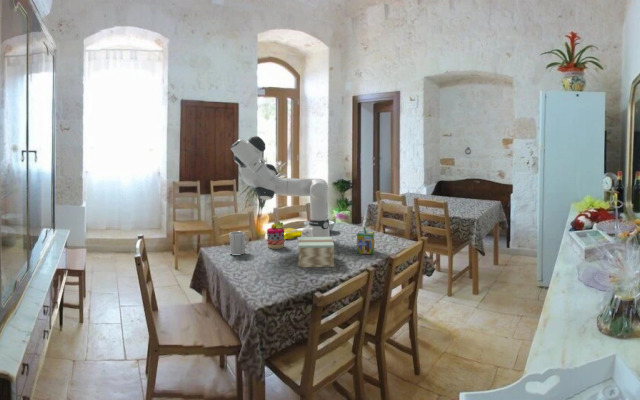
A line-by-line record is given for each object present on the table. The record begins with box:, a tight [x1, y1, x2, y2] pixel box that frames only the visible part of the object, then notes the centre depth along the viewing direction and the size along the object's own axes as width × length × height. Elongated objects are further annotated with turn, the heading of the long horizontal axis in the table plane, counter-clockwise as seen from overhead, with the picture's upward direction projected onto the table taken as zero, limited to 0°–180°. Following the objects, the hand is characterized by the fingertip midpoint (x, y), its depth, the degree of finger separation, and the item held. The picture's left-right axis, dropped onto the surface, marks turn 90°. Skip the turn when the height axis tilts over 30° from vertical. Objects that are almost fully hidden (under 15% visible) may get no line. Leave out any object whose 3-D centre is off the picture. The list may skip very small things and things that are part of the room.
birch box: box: [297, 247, 335, 268], centre depth 245 cm, size 18×20×10 cm
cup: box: [228, 231, 249, 255], centre depth 263 cm, size 10×9×12 cm
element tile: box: [283, 227, 302, 240], centre depth 308 cm, size 15×15×5 cm
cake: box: [266, 221, 286, 250], centre depth 278 cm, size 10×11×15 cm
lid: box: [297, 236, 335, 249], centre depth 244 cm, size 18×20×1 cm
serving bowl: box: [303, 220, 335, 232], centre depth 322 cm, size 21×21×7 cm
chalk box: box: [356, 225, 375, 255], centre depth 264 cm, size 9×9×15 cm
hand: (277, 184), depth 239 cm, fingers closed
